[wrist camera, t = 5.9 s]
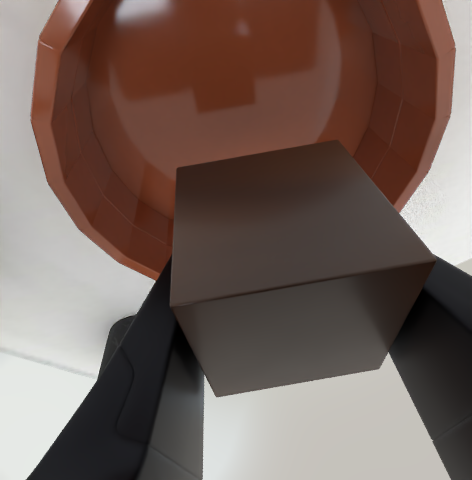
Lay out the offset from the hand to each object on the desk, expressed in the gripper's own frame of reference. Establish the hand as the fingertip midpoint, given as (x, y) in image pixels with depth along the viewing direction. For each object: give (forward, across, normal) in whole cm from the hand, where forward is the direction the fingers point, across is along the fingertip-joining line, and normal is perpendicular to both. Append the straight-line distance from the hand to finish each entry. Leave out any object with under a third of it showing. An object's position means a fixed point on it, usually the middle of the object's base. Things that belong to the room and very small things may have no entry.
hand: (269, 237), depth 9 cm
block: (+1, 0, 0) cm, 1 cm away
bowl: (+9, 0, 0) cm, 9 cm away
